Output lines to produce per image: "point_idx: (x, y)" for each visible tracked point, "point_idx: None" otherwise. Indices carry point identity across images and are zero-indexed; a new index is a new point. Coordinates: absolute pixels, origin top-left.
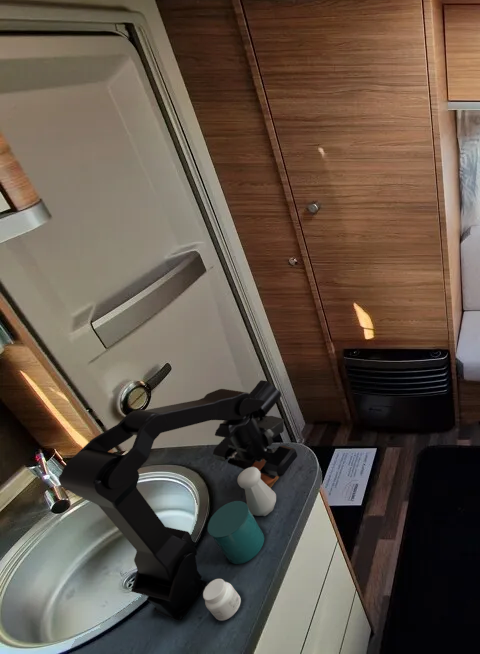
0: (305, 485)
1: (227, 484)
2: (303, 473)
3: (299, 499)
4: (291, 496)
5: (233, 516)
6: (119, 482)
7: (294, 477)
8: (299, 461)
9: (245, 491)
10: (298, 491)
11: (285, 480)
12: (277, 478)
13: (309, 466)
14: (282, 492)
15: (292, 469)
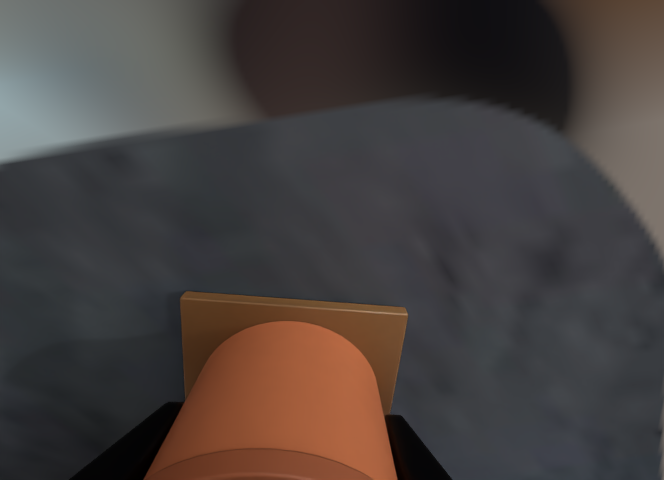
0: (651, 391)
1: (18, 477)
2: (599, 305)
3: (636, 476)
4: (568, 470)
5: None
6: None
7: (529, 350)
8: (508, 197)
9: None
10: (609, 435)
11: (462, 383)
12: (391, 390)
13: (636, 232)
14: (487, 458)
15: (476, 288)
